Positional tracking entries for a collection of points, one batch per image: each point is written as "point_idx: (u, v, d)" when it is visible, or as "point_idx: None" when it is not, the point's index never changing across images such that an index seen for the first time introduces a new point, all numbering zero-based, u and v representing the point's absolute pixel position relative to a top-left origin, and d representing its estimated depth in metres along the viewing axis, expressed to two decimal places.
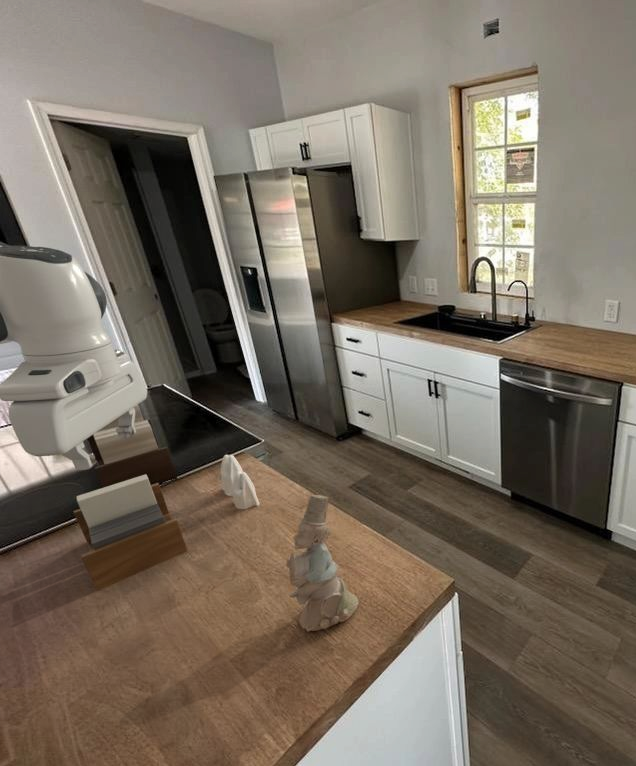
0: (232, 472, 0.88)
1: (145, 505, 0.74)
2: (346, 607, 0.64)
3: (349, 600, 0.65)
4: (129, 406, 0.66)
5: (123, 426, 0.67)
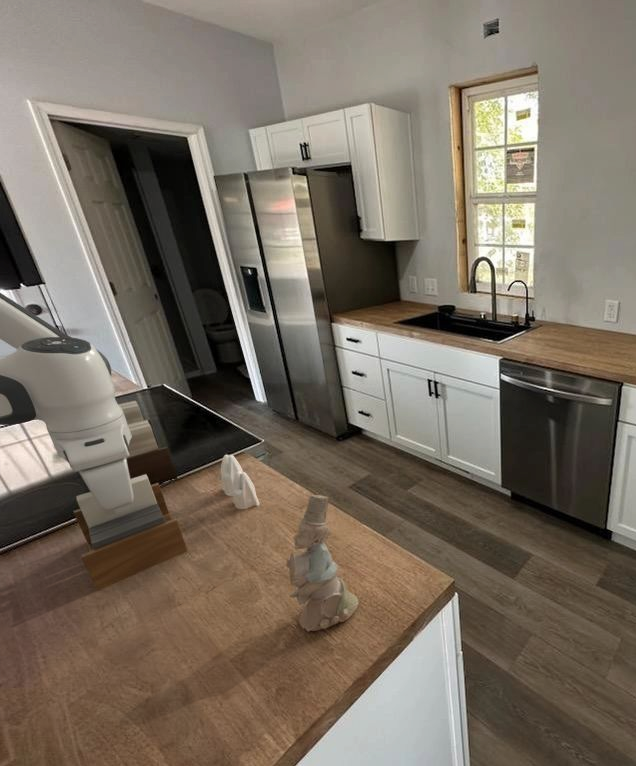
0: (232, 472, 0.88)
1: (145, 505, 0.74)
2: (346, 607, 0.64)
3: (349, 600, 0.65)
4: None
5: None
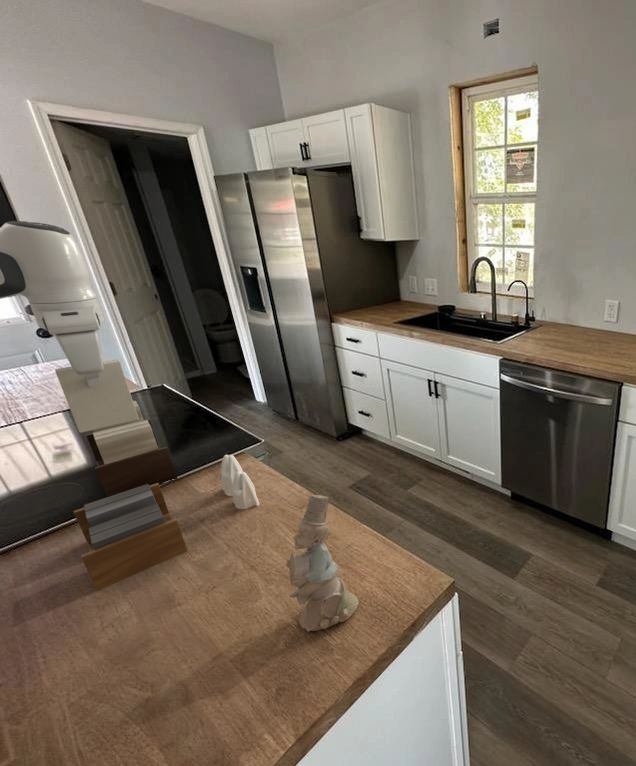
0: (232, 472, 0.88)
1: (117, 386, 0.84)
2: (346, 607, 0.64)
3: (349, 600, 0.65)
4: None
5: None
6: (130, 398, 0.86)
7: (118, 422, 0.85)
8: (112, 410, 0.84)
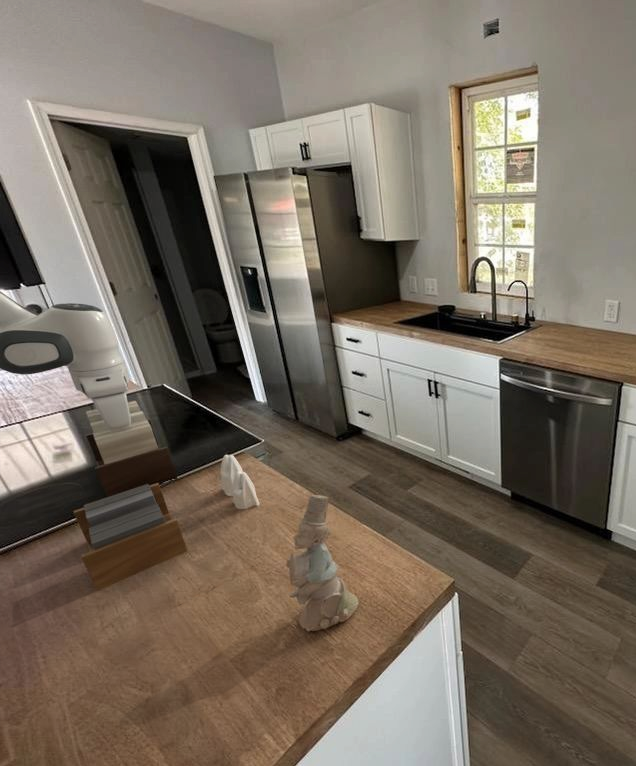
0: (232, 472, 0.88)
1: None
2: (346, 607, 0.64)
3: (349, 600, 0.65)
4: None
5: None
6: None
7: None
8: None
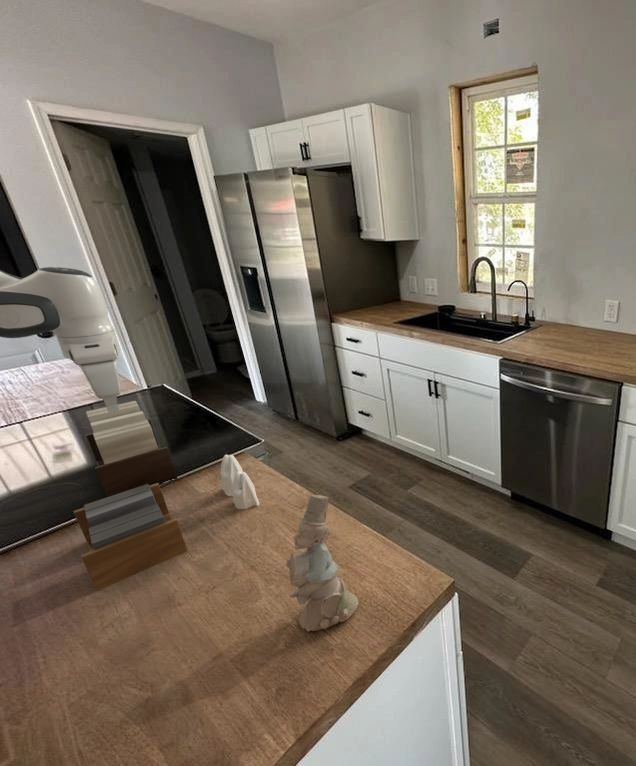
0: (232, 472, 0.88)
1: None
2: (346, 607, 0.64)
3: (349, 600, 0.65)
4: None
5: None
6: None
7: None
8: None
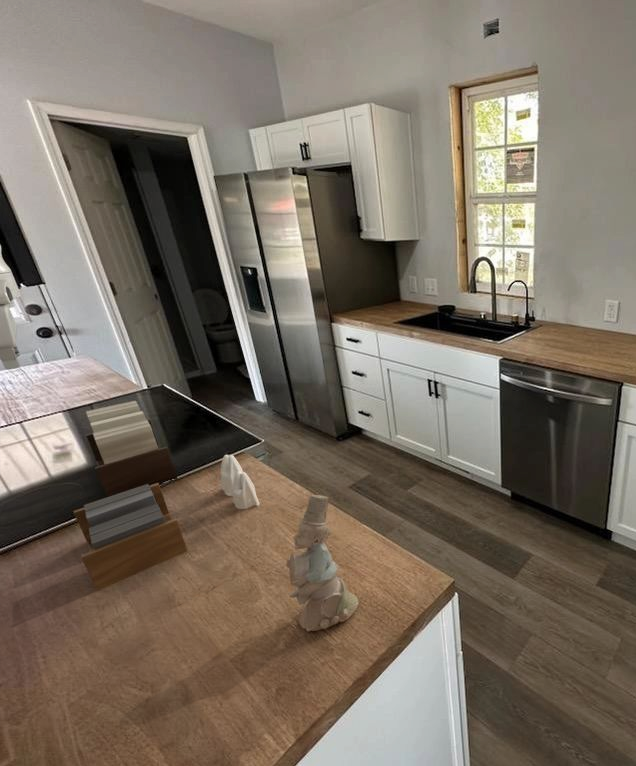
0: (232, 472, 0.88)
1: None
2: (346, 607, 0.64)
3: (349, 600, 0.65)
4: (16, 329, 0.81)
5: None
6: None
7: None
8: None
